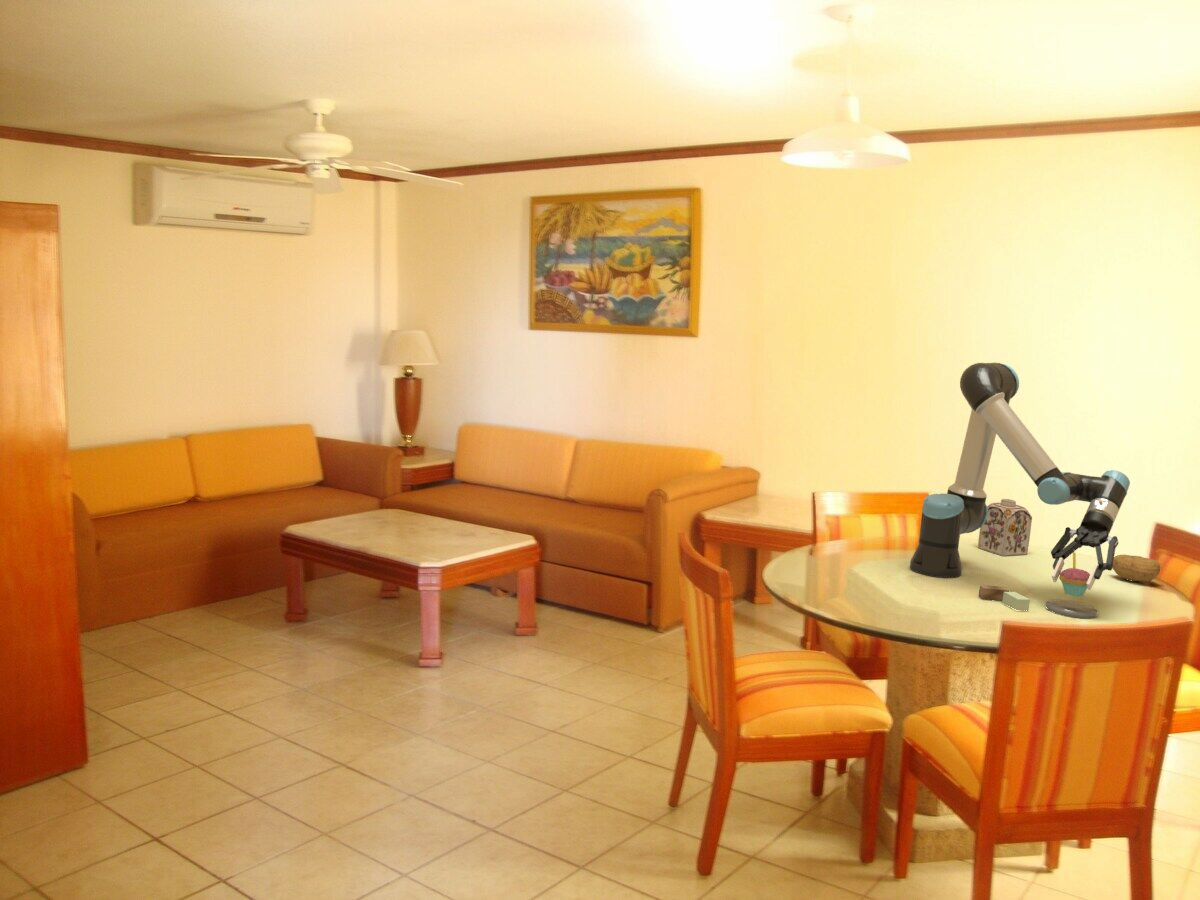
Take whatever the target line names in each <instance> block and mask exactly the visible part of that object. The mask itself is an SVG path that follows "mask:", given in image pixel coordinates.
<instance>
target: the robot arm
mask: <svg viewBox="0 0 1200 900" xmlns="http://www.w3.org/2000/svg"><path fill="white" fill-rule="evenodd" d="M959 387H960V391H961V394H962V396H963V397H964V399H965V400H966V402H967V404H968V405H969V407H970V409H971V411H970V416H969V419H968V424H967V428H966V432H965V436H964V440H963V446H962V450H961V454H960V459H959V463H958V468H957V472H956V476H955V480H954V483H953V484H951V485H949V486H948V487H947V488H948V489H947V492H946V493H933V494H930V495H929V494H928V495H927V496H925V498H924V500H923V503H922V504H923V505H922V507H921V519H920V527H919V538H918V544H917V547H916V548H915V551H914V552H913V555H912V557H911V559H910V565H909V569H910V570H912V571H913V572H916V573H918V574H922V575H925V576H930V577H936V578H937V577H938V578H948V579H949V578H959V577H961V576H962V572H963V566H962V561H961V556H960V552H959V551H960V550H959V544H960V537H961V535H964V534H970V533H973V532H975V531H977V530H978V529H979V530H980V527H981V526H983V524H984V523H985V522H986V520H987V517H988V507H987V506H988V505H987V503H986V501H987V497H988V495H987V493H986V492H985V490H984V487H985V482H986V478H987V475H988V470H989V466H990V462H991V459H992V458H991V457H992V453H993V449H994V445H995V441H996V436H998V438H999V439H1000V440H1001V442H1002V443H1003V444H1004V445H1005V447H1006V448H1007V449H1008V451H1009V452H1010V453H1011V454H1012V455H1013V457H1014V458H1015V460H1016V461H1017V462H1018V464H1019V465H1020V466H1021V468H1022V469H1023V470H1024V471H1025V472H1026V474H1027V475H1028V477H1029V478H1030V479H1031V481H1032V482H1033V483H1034V485H1035V486H1036V487H1037V489H1036V490H1037V496H1038V498H1039V500H1040V501H1041V502H1043V503H1044V504H1047V505H1053V506H1054V505H1055V506H1058V505H1062V504H1065V503H1069V502H1073V501H1081V502H1086V503H1087V502H1088V503H1089V504H1088V507H1087V509H1086V512H1085V514H1084V516H1083V518H1082V520H1081V523H1080V526H1078V527H1077V528H1076V529H1071V528H1070V527H1069V526H1067V527H1065V531H1064V533H1063V535H1062V536H1061V537H1060V538H1059V540H1058V542H1057V543H1056V545H1054V546H1053V548H1052V549H1051V550H1050V554H1051V558H1052V559H1053V560H1054V562H1053V564H1052V568H1053V572H1052V574H1051V579H1052V581H1053V583H1057V581H1058V580H1059V577H1060V575H1059V574H1060V573H1061V572H1062V571H1063V567H1064V565H1065V562H1064V561H1065V560H1066V559H1067V558H1069V556H1071V555H1073V553H1074V552H1076V551H1077V550H1078V549H1081V548H1082V547H1083V546H1084V547H1091V548H1093V549H1094V548H1095V553H1096V559H1097V564H1094V565H1093V567H1092V570H1091V572H1090V573H1089V574H1090V576H1089V579H1088V581H1087V583H1086V584H1087V590H1088V591H1091V590H1092V588H1093V586H1094V583H1095V581H1096V580H1100V579H1101V577H1102V574H1103V573H1104V571H1105V570H1107V571H1112V570H1113V561H1114V557H1115V552H1116V548H1117V547H1118V545H1119V539H1118V537H1117V536H1116V535H1114V536H1110V535H1109V534H1110V533H1111V530H1112V528H1113V526H1114V523H1115V521H1116V519H1117V516H1118V514H1119V511H1120V509H1121V506H1122V505H1123V502H1124V500H1125V498H1126V497H1127V495H1128V490H1129V487H1130V485H1131V484H1130V483H1131V482H1130V478H1129V477H1128V476H1127V475H1126V474H1125V473H1123V472H1121V471H1119V470H1115V469H1110V470H1106V471H1104V473H1102V474H1101V476H1094V475H1093V476H1091V475H1086V474H1079V473H1072V472H1071V471H1070V472H1069V471H1067V472H1064V471H1061V470H1060V469H1059V467H1058V466H1057V465H1056V463H1055V462H1054V460H1053V459H1051V458H1050V456H1049V454H1048V453H1047V452H1046V451H1045V450H1044V448H1043V447H1042V446H1041V445H1040V443H1039V442H1038V441H1037V439H1036V438H1035V436H1033V434H1032V432H1031V431H1030V430H1029V429H1028V427H1027V426H1026V425H1025V424H1024V423H1023V422H1022V420H1021V419H1020V418H1019V417H1018V414H1016V413H1015V411H1014V410H1013V409H1012V407H1011V406H1010V402H1011V399H1013V398H1014V397H1015V395H1016V394H1017V393H1018V391H1019V388H1020V379H1019V376H1018V374H1017V372H1016V371H1015V370H1014V369H1013V368H1012V367H1011V366H1010V365H1008V364H1004V363H1001V362H977V363H974V364H971V365H969V366H968V367H967V368H965V370H964V371H963V372H962V374H961V376H960V380H959ZM1075 535H1076V537H1074V536H1075ZM1072 538H1074V539H1073V541H1071V542H1070V540H1071V539H1072ZM1106 542H1107V543H1108V546H1107V547H1108V549H1107V554H1106V562H1104V559H1103V551H1102V544H1104V543H1106Z"/></svg>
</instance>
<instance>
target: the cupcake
mask: <svg viewBox="0 0 1200 900" xmlns="http://www.w3.org/2000/svg"><path fill="white" fill-rule="evenodd" d="M1076 557H1077V555H1076V551H1074V552H1073V553H1072V567H1070V568H1067V569H1064V570H1063V569H1062V570H1061V572H1060V574H1059V577H1058V580H1060V581H1061V584H1062V587H1063V592H1064V594H1065V595H1068V596H1071V597H1084V595H1085V593H1086V591H1087V590H1088V588H1087V584H1086V583H1087V581H1088V579H1089V576H1090V574H1091V573H1089V572H1088V571H1087V570H1084V569H1079V568H1077V567H1076V566H1077V565H1076V563H1077V562H1076V560H1077V559H1076Z"/></svg>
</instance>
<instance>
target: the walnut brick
mask: <svg viewBox="0 0 1200 900" xmlns="http://www.w3.org/2000/svg"><path fill="white" fill-rule="evenodd" d="M1004 592H1010V590H1009V588H1007V587H1006V586H996V585H985V584H980V585H979V591H978V597H979V599H981V600H983V601H992V600H994V601H993V602H1002V601H1003V593H1004Z"/></svg>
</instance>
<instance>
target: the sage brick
mask: <svg viewBox="0 0 1200 900" xmlns="http://www.w3.org/2000/svg"><path fill="white" fill-rule="evenodd" d="M1030 601H1031V599H1030V598H1027V597H1026V596H1024V595H1022V594H1020V593H1018V592H1016V591H1009V592H1004V593H1003V601H1001V604H1002V603H1004V604H1006V605H1008V606H1010V607H1012V608H1014V609H1016V610H1025V611H1024V612H1029V611H1030V610H1029V609H1030ZM1004 604H1003V605H1004ZM1006 605H1005V606H1006ZM1008 606H1007V607H1008ZM1010 607H1009V608H1010ZM1012 608H1011V609H1012ZM1026 610H1027V611H1026Z"/></svg>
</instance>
